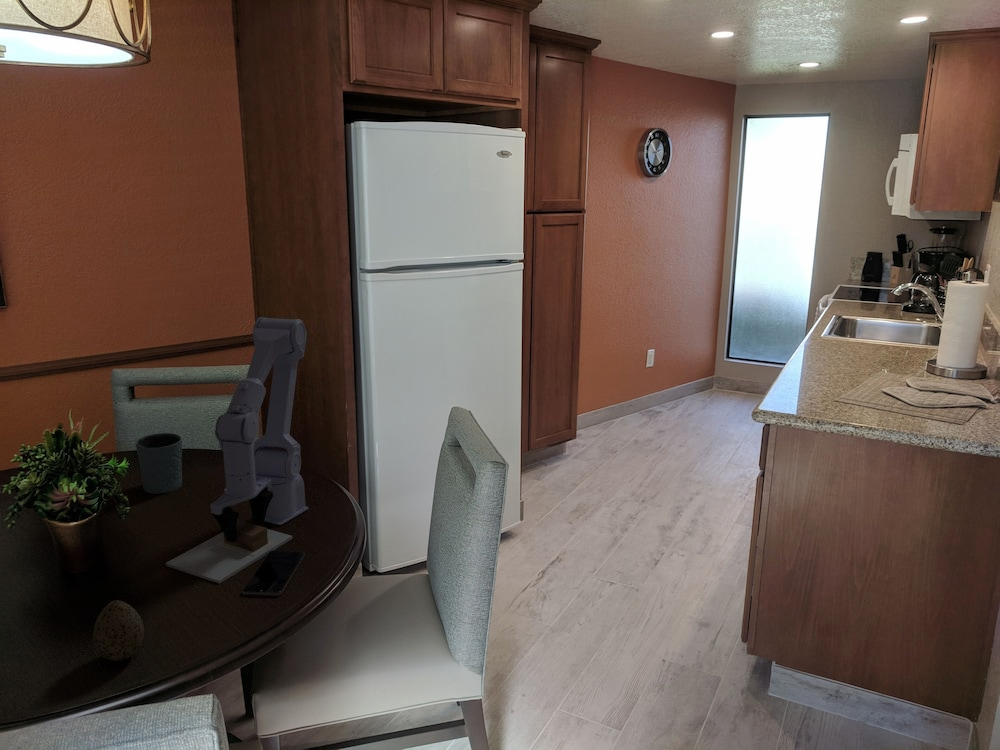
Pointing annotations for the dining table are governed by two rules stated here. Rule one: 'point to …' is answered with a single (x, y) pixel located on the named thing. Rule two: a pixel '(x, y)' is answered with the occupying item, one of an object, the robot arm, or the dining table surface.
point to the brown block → (249, 536)
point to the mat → (223, 557)
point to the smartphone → (273, 573)
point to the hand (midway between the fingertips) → (245, 532)
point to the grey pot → (160, 462)
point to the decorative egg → (118, 631)
